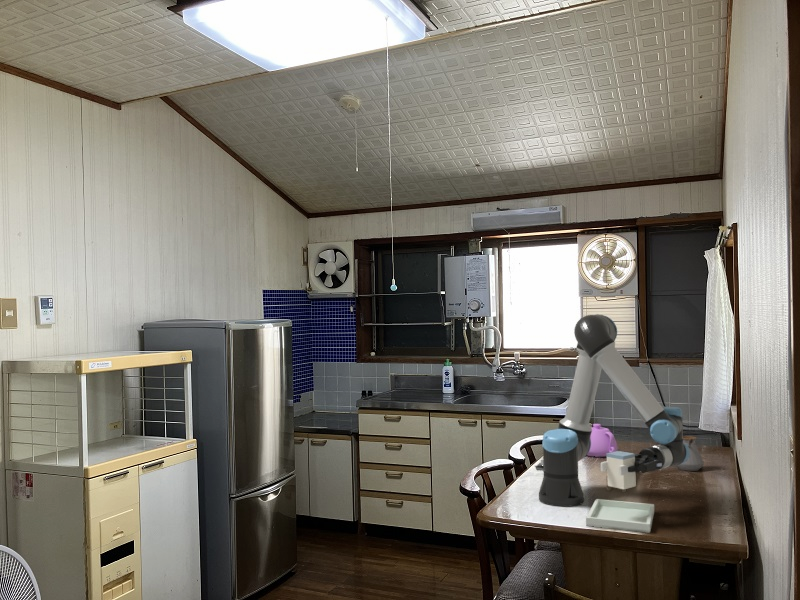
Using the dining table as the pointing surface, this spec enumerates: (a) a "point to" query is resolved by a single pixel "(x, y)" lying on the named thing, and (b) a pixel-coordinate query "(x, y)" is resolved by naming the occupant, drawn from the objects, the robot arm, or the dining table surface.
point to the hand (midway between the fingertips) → (610, 468)
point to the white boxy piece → (613, 470)
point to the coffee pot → (691, 456)
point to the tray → (621, 515)
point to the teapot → (601, 441)
